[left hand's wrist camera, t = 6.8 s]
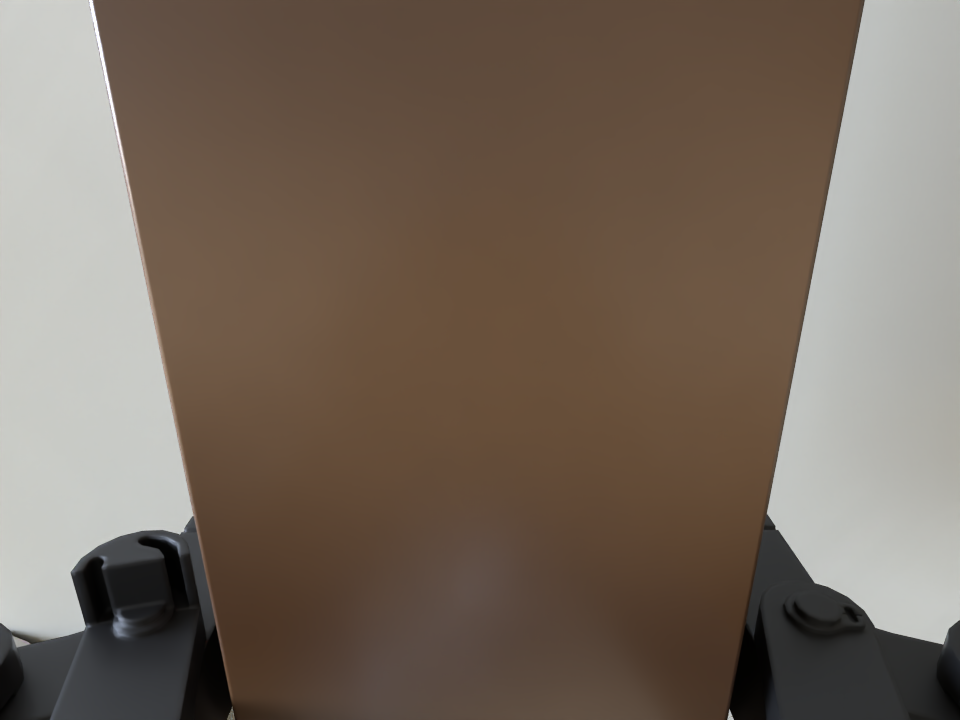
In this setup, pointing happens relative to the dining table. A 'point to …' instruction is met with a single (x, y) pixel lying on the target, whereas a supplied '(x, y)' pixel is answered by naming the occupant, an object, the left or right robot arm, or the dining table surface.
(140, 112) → the post
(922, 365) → the dining table surface
